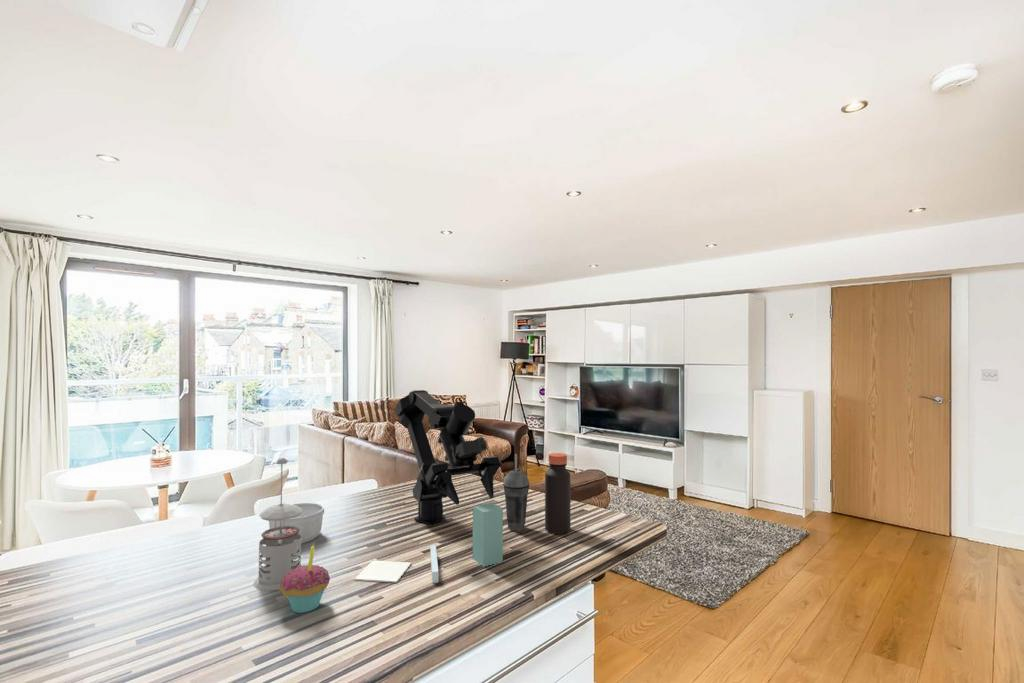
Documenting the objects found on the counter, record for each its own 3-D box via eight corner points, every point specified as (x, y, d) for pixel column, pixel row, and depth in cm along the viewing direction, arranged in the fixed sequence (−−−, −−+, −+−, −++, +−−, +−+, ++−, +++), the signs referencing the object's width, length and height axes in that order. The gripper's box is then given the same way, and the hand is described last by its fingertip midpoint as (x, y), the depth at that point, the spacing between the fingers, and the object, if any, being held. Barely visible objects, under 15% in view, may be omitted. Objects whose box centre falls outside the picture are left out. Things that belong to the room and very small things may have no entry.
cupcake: (339, 601, 91) (340, 536, 91) (302, 623, 83) (303, 553, 84) (306, 591, 95) (307, 529, 95) (268, 612, 87) (269, 544, 87)
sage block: (472, 559, 110) (472, 506, 110) (491, 554, 113) (491, 502, 113) (483, 567, 106) (483, 512, 106) (502, 562, 108) (502, 508, 109)
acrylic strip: (430, 555, 112) (430, 545, 112) (435, 554, 112) (435, 545, 112) (432, 582, 98) (432, 572, 98) (438, 582, 98) (438, 571, 99)
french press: (252, 595, 93) (255, 464, 94) (253, 571, 103) (255, 454, 104) (307, 584, 98) (309, 460, 99) (303, 562, 108) (305, 450, 109)
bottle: (571, 535, 125) (571, 457, 126) (545, 534, 125) (545, 457, 126) (569, 525, 132) (569, 452, 132) (544, 525, 132) (544, 452, 133)
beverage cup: (530, 524, 133) (530, 451, 134) (528, 533, 126) (528, 456, 127) (504, 523, 134) (504, 450, 135) (501, 532, 127) (501, 456, 127)
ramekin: (254, 543, 119) (255, 514, 120) (296, 525, 132) (297, 500, 132) (295, 551, 114) (295, 521, 115) (335, 532, 127) (335, 505, 127)
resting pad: (372, 561, 108) (372, 560, 108) (411, 564, 107) (411, 562, 107) (354, 580, 99) (354, 578, 99) (396, 582, 98) (396, 581, 98)
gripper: (430, 430, 114) (450, 487, 105) (497, 424, 125) (521, 476, 115) (417, 457, 121) (435, 514, 111) (482, 450, 131) (504, 501, 121)
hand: (475, 500), depth 114 cm, fingers open, 9 cm apart
